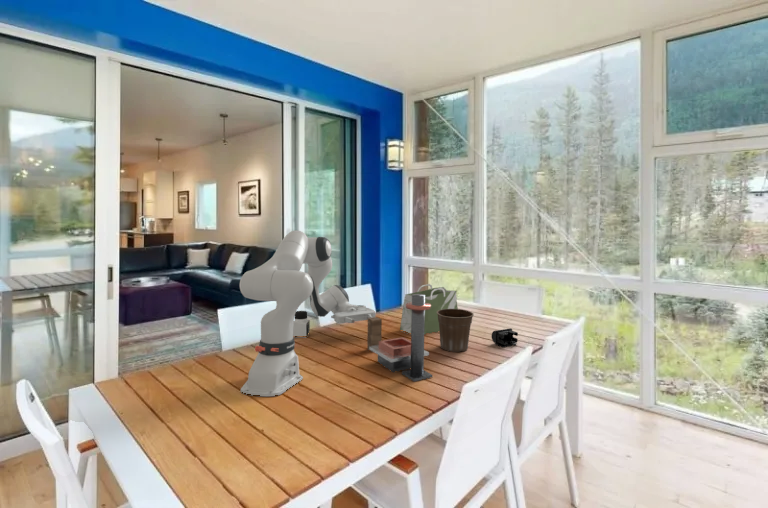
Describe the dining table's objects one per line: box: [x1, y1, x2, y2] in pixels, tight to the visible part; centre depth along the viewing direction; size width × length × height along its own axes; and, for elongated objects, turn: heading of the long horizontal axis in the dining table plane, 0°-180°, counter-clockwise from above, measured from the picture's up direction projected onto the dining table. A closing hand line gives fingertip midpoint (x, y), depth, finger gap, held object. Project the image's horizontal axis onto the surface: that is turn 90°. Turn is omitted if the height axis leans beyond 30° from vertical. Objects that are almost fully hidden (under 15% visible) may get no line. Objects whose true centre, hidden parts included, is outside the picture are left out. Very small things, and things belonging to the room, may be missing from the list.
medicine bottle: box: [293, 310, 311, 337], centre depth 196 cm, size 7×7×12 cm
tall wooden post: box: [366, 316, 383, 353], centre depth 175 cm, size 4×4×14 cm
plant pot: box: [437, 308, 474, 353], centre depth 179 cm, size 16×16×16 cm
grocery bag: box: [399, 283, 459, 335], centre depth 211 cm, size 32×14×23 cm, turn 126°
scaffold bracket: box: [369, 294, 433, 382], centre depth 153 cm, size 26×17×30 cm, turn 30°
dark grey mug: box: [490, 328, 519, 348], centre depth 186 cm, size 10×7×7 cm
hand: (362, 319), depth 186 cm, fingers open, 8 cm apart
